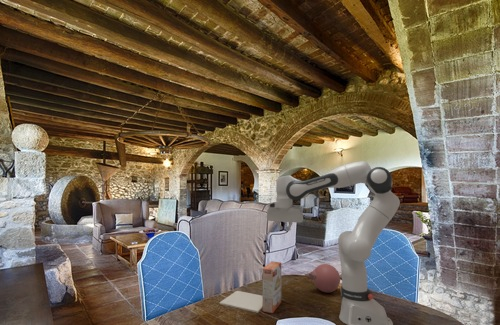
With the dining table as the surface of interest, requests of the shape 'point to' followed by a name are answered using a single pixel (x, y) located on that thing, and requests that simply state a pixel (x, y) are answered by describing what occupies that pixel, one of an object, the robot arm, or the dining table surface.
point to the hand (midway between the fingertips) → (284, 230)
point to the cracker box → (271, 287)
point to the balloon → (325, 278)
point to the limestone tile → (244, 301)
